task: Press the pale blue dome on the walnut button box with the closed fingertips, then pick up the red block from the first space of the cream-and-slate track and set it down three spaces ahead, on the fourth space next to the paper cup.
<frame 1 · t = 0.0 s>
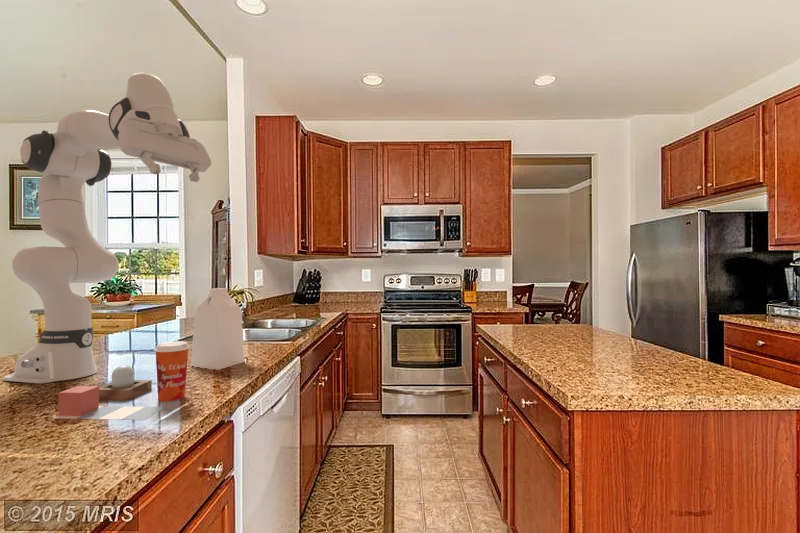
hand: (176, 176, 96), 54 cm above the countertop, tool tilted 30°, fingers open, 8 cm apart
dome: (123, 378, 104), point 5 cm above the countertop, slide at 0.0 cm
track: (111, 415, 91), on the countertop
button box: (122, 396, 104), on the countertop
paper cup: (172, 400, 101), on the countertop
red block: (79, 411, 91), point 1 cm above the countertop, touching track
milk: (217, 365, 140), on the countertop
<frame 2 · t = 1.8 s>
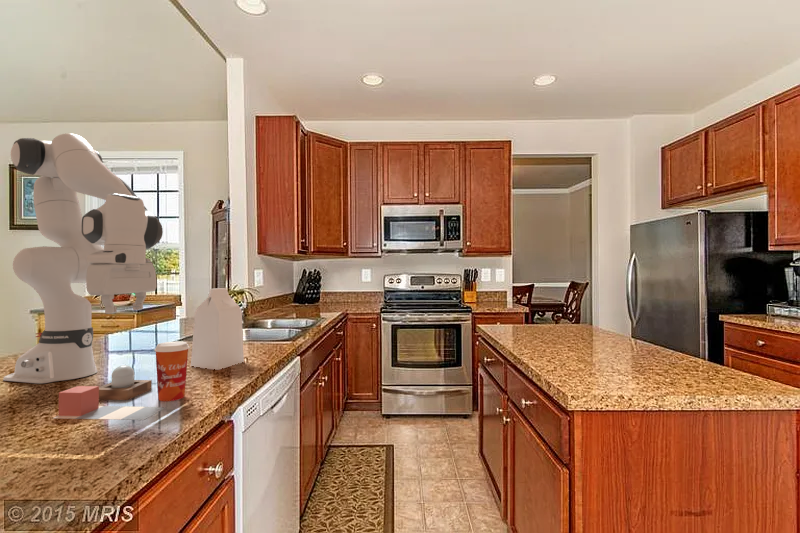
hand: (124, 311, 104), 22 cm above the countertop, tool pointing down, fingers open, 8 cm apart
nothing on the countertop moved.
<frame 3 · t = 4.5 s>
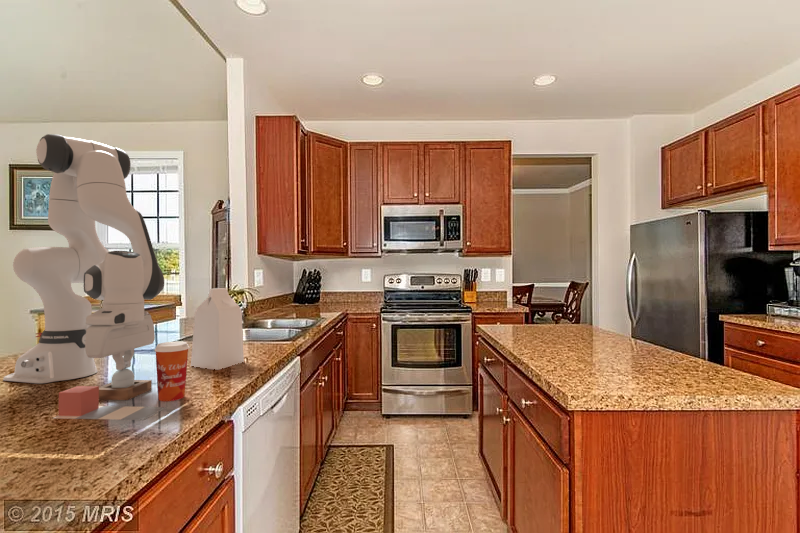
hand: (123, 368, 104), 7 cm above the countertop, tool pointing down, fingers closed
dome: (123, 381, 104), point 4 cm above the countertop, slide at -0.8 cm
everything else where it was.
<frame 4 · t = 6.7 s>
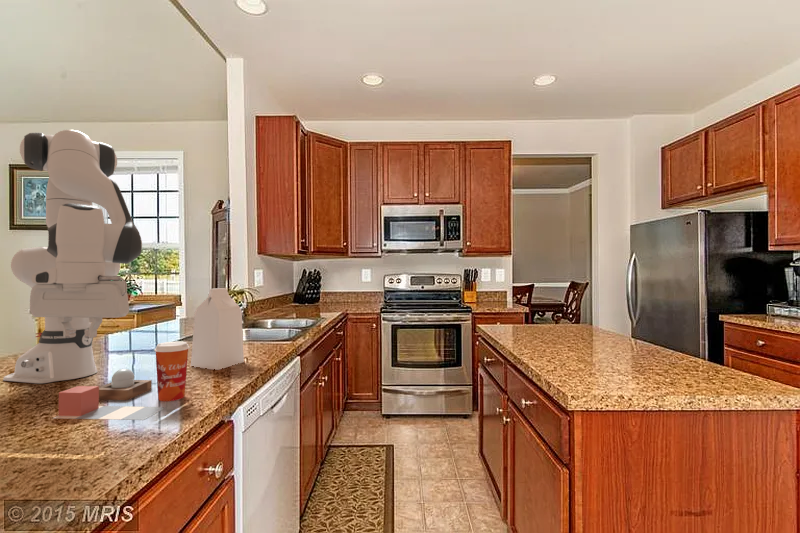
hand: (80, 337, 91), 17 cm above the countertop, tool pointing down, fingers open, 3 cm apart
nothing on the countertop moved.
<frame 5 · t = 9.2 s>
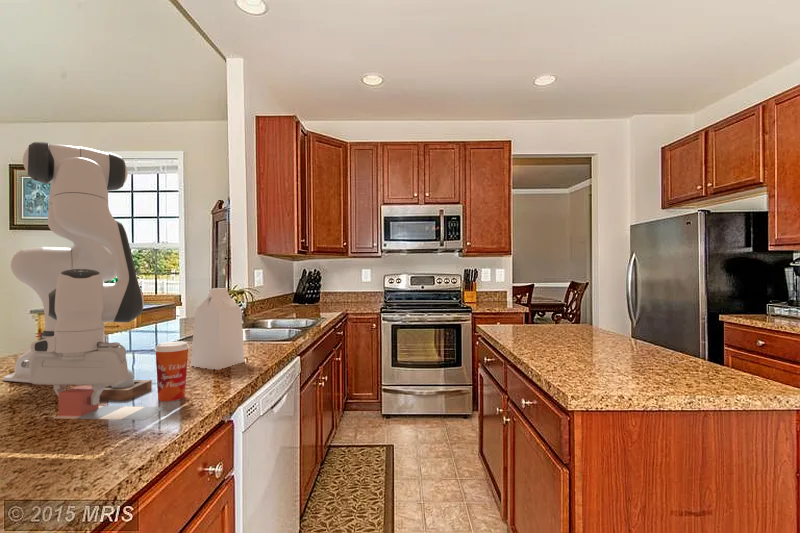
hand: (79, 404, 91), 2 cm above the countertop, tool pointing down, fingers closed on red block, 5 cm apart
red block: (79, 411, 91), point 1 cm above the countertop, touching gripper, track
everything else where it was.
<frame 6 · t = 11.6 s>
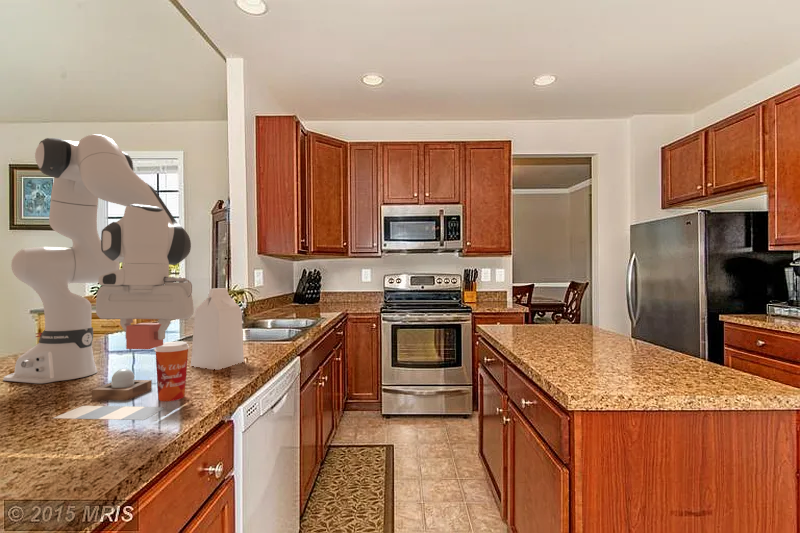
hand: (145, 339, 91), 17 cm above the countertop, tool pointing down, fingers closed on red block, 5 cm apart
red block: (145, 347, 90), point 15 cm above the countertop, touching gripper
everything else where it was.
when the fingers open (4 cm above the countertop, at t = 14.4 s): red block drops 1 cm, resting on track.
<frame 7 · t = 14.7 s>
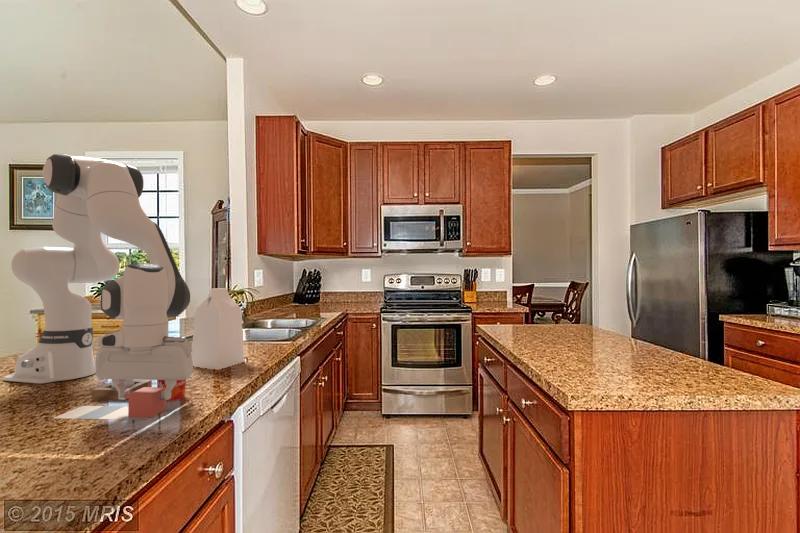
hand: (144, 398, 90), 4 cm above the countertop, tool pointing down, fingers open, 8 cm apart
red block: (147, 413, 90), point 1 cm above the countertop, touching track
everything else where it was.
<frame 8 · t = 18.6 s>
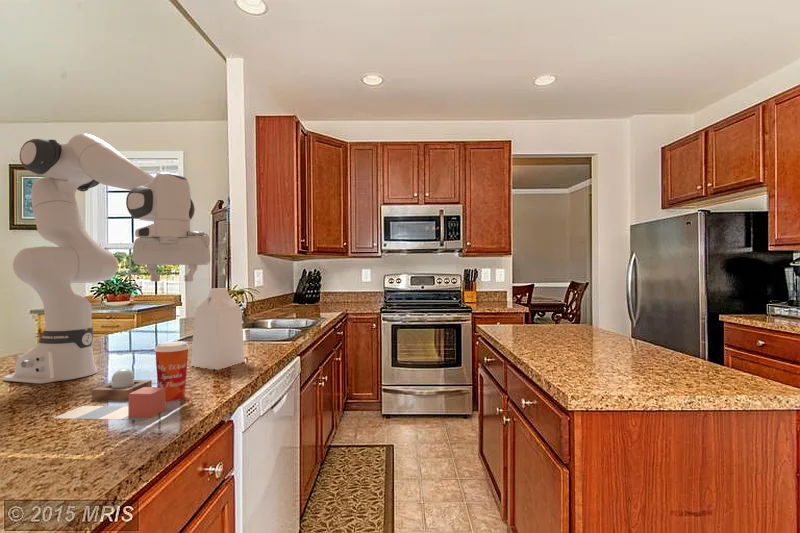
hand: (171, 281, 113), 29 cm above the countertop, tool pointing down, fingers open, 8 cm apart
nothing on the countertop moved.
at the end: red block 0.6 cm from the target spot, point 0.6 cm above the countertop; dome slide at -0.9 cm; the gripper is holding nothing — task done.
